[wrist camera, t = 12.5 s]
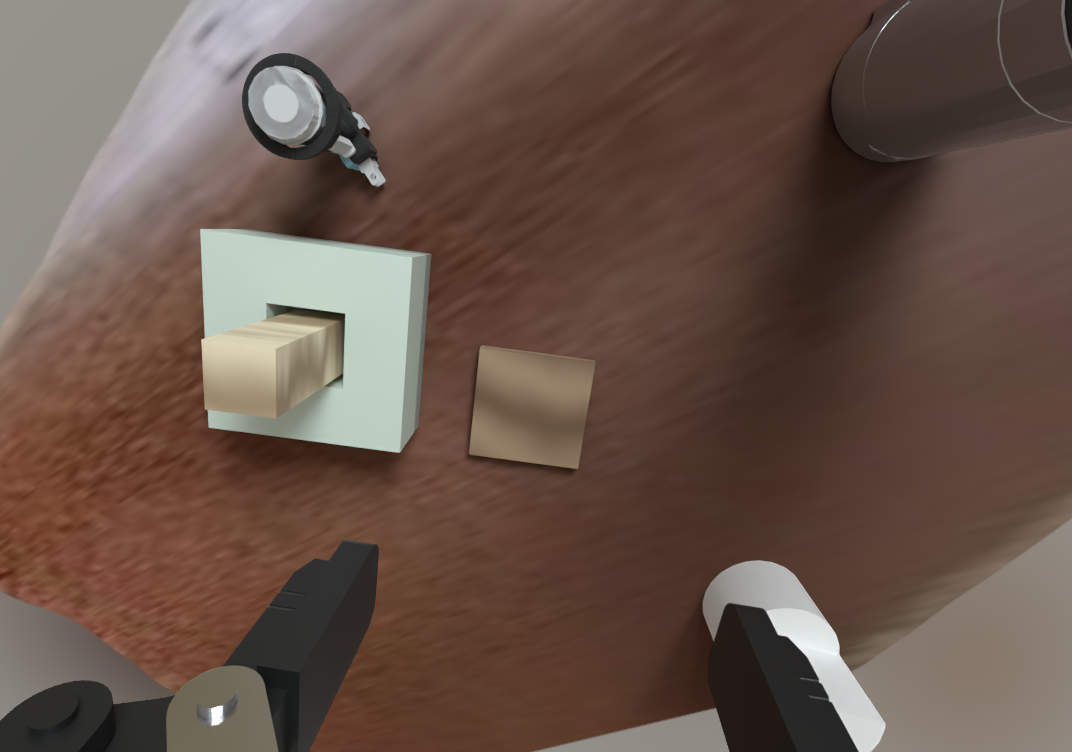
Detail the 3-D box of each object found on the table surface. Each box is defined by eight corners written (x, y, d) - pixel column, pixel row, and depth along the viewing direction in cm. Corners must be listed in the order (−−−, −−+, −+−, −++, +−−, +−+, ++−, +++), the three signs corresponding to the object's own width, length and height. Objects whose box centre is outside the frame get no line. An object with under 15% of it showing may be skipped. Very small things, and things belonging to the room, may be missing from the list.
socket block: (247, 229, 40) (200, 229, 35) (431, 253, 40) (412, 257, 35) (250, 403, 44) (208, 427, 38) (418, 425, 44) (399, 452, 38)
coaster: (481, 345, 42) (479, 347, 41) (594, 360, 42) (595, 363, 41) (470, 449, 44) (468, 454, 43) (577, 463, 44) (577, 469, 43)
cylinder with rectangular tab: (687, 631, 48) (730, 757, 37) (724, 549, 46) (781, 656, 34) (780, 655, 49) (851, 788, 37) (821, 575, 46) (910, 690, 35)
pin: (303, 307, 40) (201, 339, 28) (356, 314, 40) (275, 348, 28) (303, 358, 41) (204, 409, 29) (354, 365, 41) (276, 418, 29)
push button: (412, 164, 38) (365, 142, 29) (354, 205, 39) (289, 197, 30) (357, 78, 37) (287, 24, 27) (298, 123, 38) (211, 86, 28)
